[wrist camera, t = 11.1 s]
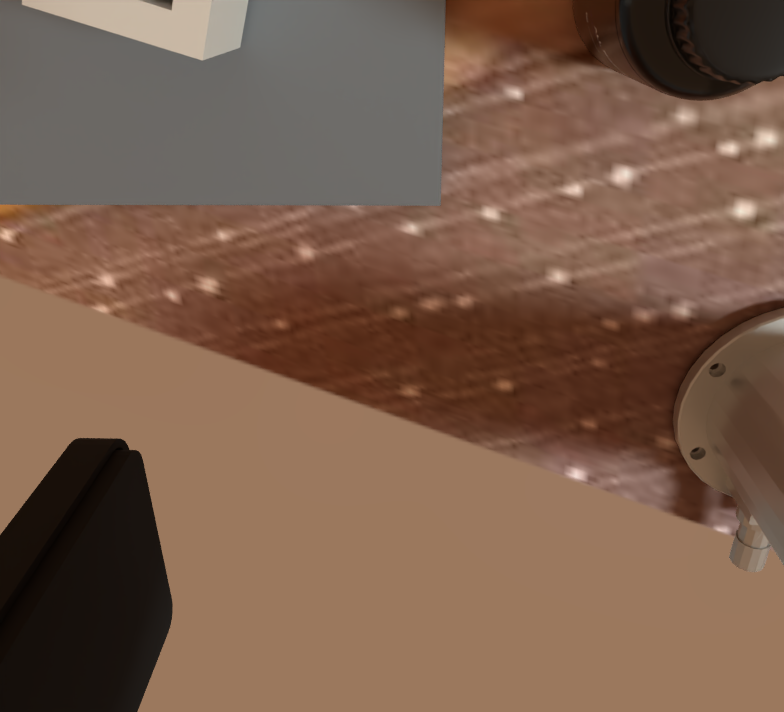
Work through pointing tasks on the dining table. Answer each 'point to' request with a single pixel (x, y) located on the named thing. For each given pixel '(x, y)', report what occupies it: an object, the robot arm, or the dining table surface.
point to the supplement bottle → (687, 43)
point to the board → (227, 110)
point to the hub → (161, 21)
